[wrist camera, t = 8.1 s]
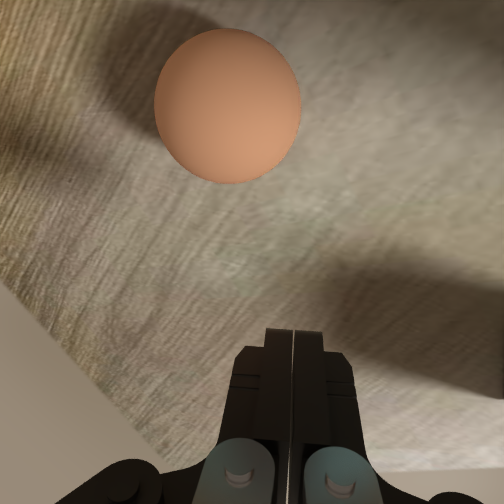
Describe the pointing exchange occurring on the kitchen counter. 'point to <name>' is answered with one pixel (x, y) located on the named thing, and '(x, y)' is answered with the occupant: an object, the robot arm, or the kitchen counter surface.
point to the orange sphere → (227, 106)
